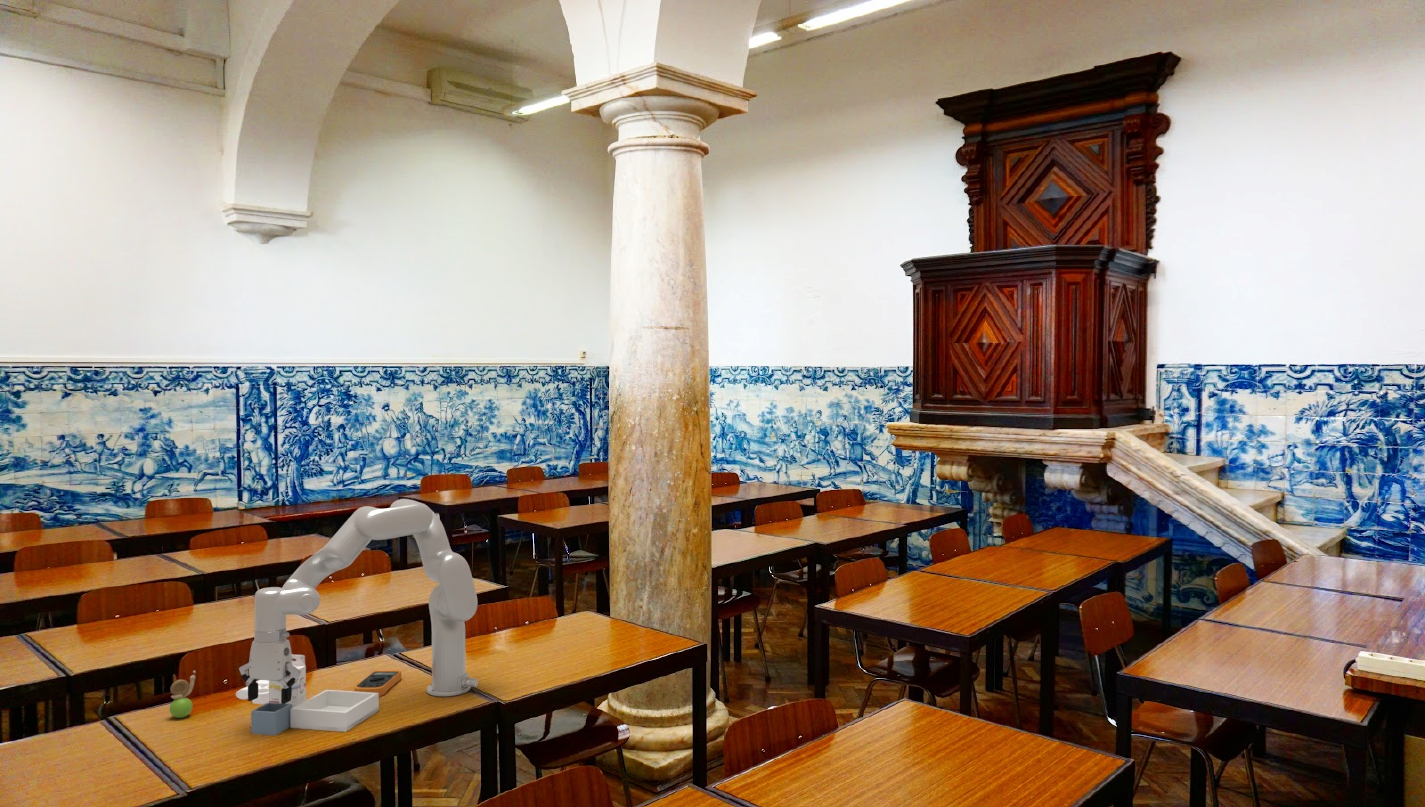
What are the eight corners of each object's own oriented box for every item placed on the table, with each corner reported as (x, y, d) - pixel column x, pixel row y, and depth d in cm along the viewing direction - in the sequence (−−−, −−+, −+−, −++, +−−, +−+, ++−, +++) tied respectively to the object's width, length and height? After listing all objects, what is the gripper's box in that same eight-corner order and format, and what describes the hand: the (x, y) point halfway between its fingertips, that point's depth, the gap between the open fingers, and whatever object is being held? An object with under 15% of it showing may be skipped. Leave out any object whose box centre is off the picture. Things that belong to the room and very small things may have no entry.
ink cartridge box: (268, 711, 261) (267, 658, 261) (278, 705, 266) (277, 653, 266) (297, 712, 260) (296, 659, 260) (306, 706, 265) (306, 654, 265)
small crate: (292, 726, 250) (292, 703, 250) (275, 735, 243) (275, 712, 243) (268, 724, 252) (268, 702, 251) (251, 734, 245) (251, 711, 245)
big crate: (378, 710, 261) (378, 693, 261) (345, 731, 246) (345, 712, 246) (326, 707, 264) (326, 689, 264) (290, 727, 249) (290, 708, 249)
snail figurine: (199, 716, 258) (199, 672, 257) (173, 722, 253) (173, 677, 253) (192, 711, 261) (192, 668, 261) (166, 717, 257) (166, 673, 256)
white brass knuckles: (266, 683, 286) (311, 685, 285) (228, 704, 269) (276, 706, 267) (266, 672, 286) (311, 674, 285) (228, 692, 269) (276, 694, 267)
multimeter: (351, 699, 272) (351, 687, 272) (375, 679, 290) (375, 668, 290) (380, 699, 272) (380, 687, 272) (402, 679, 290) (402, 668, 290)
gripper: (308, 634, 249) (308, 698, 249) (250, 630, 252) (249, 694, 252) (290, 641, 242) (290, 708, 242) (231, 637, 245) (230, 703, 245)
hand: (269, 700), depth 247 cm, fingers open, 9 cm apart
